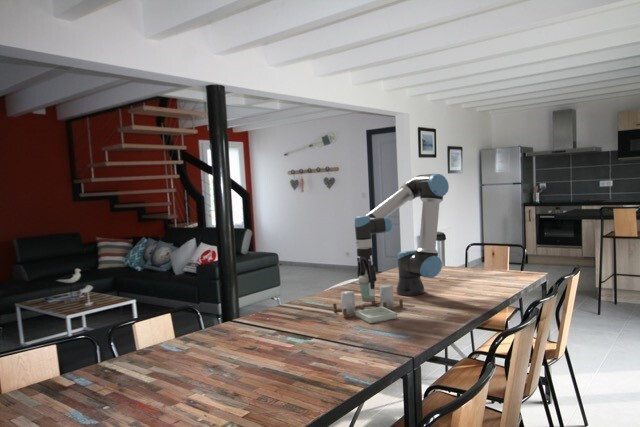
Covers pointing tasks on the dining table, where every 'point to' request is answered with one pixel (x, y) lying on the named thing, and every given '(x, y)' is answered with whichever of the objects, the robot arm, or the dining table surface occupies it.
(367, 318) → the tray
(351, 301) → the white rounded capsule
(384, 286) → the white rounded block
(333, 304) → the rack
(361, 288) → the coffee cup
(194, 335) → the dining table surface
